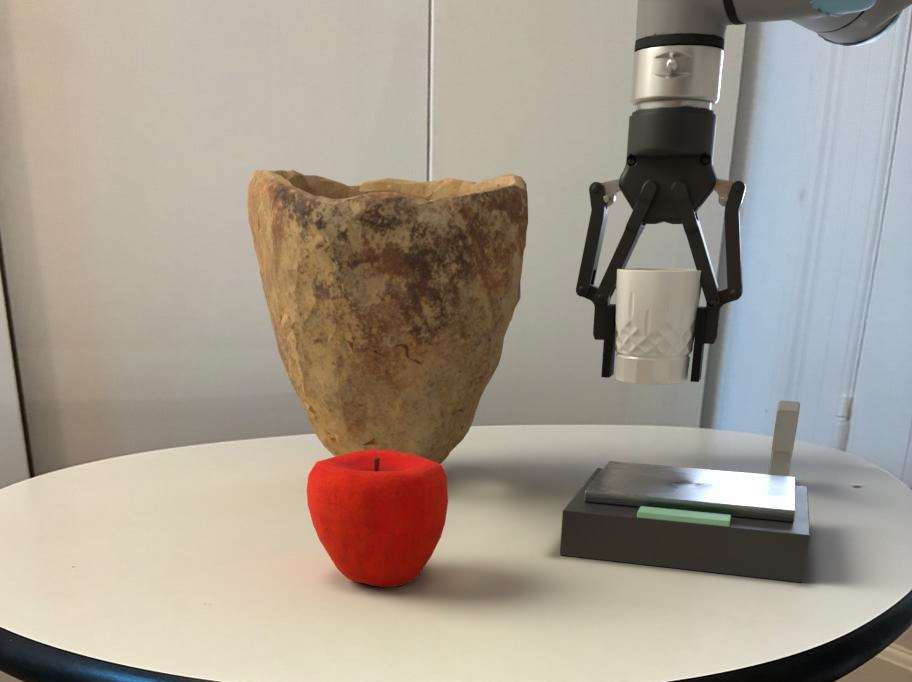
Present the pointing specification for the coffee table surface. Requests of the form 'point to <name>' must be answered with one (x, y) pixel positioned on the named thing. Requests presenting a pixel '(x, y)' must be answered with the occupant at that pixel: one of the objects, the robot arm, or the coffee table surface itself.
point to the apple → (378, 513)
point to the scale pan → (695, 490)
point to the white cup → (655, 324)
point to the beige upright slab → (784, 438)
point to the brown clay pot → (389, 300)
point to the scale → (688, 538)
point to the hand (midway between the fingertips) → (651, 377)
